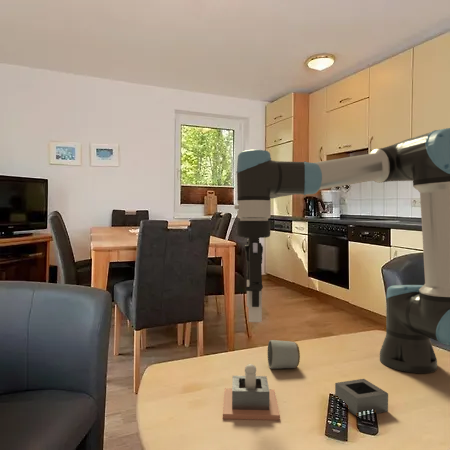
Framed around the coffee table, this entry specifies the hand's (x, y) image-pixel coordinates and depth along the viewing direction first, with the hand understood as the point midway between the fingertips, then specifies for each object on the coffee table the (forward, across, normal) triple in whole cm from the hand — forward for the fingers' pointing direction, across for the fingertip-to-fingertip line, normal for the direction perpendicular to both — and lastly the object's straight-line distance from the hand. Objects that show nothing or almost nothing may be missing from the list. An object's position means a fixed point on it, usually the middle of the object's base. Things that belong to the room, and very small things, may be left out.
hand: (253, 313), depth 85 cm
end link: (+20, +1, -1) cm, 20 cm away
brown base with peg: (+21, +1, -1) cm, 21 cm away
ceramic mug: (+21, -23, +9) cm, 33 cm away
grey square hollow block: (+21, 0, +24) cm, 32 cm away
